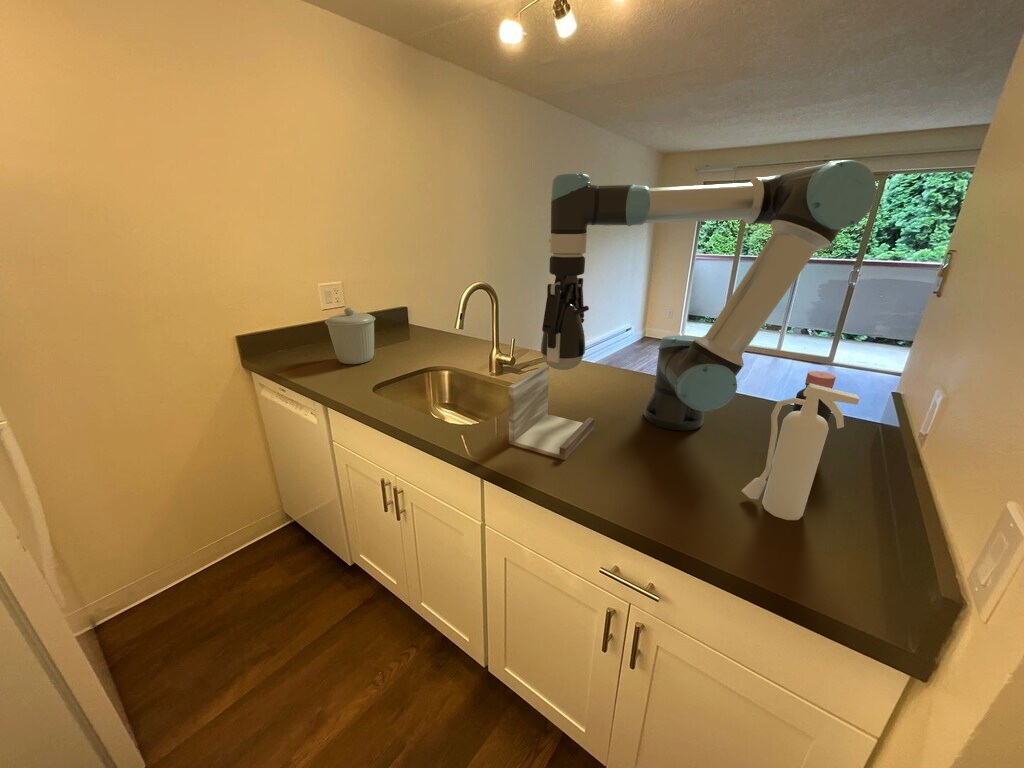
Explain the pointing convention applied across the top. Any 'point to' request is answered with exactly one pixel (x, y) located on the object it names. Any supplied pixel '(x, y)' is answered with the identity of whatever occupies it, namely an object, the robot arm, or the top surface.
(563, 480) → the top surface
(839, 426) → the fire extinguisher
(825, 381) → the vinegar
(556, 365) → the pump dispenser
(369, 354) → the canister
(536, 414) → the ledge rack
